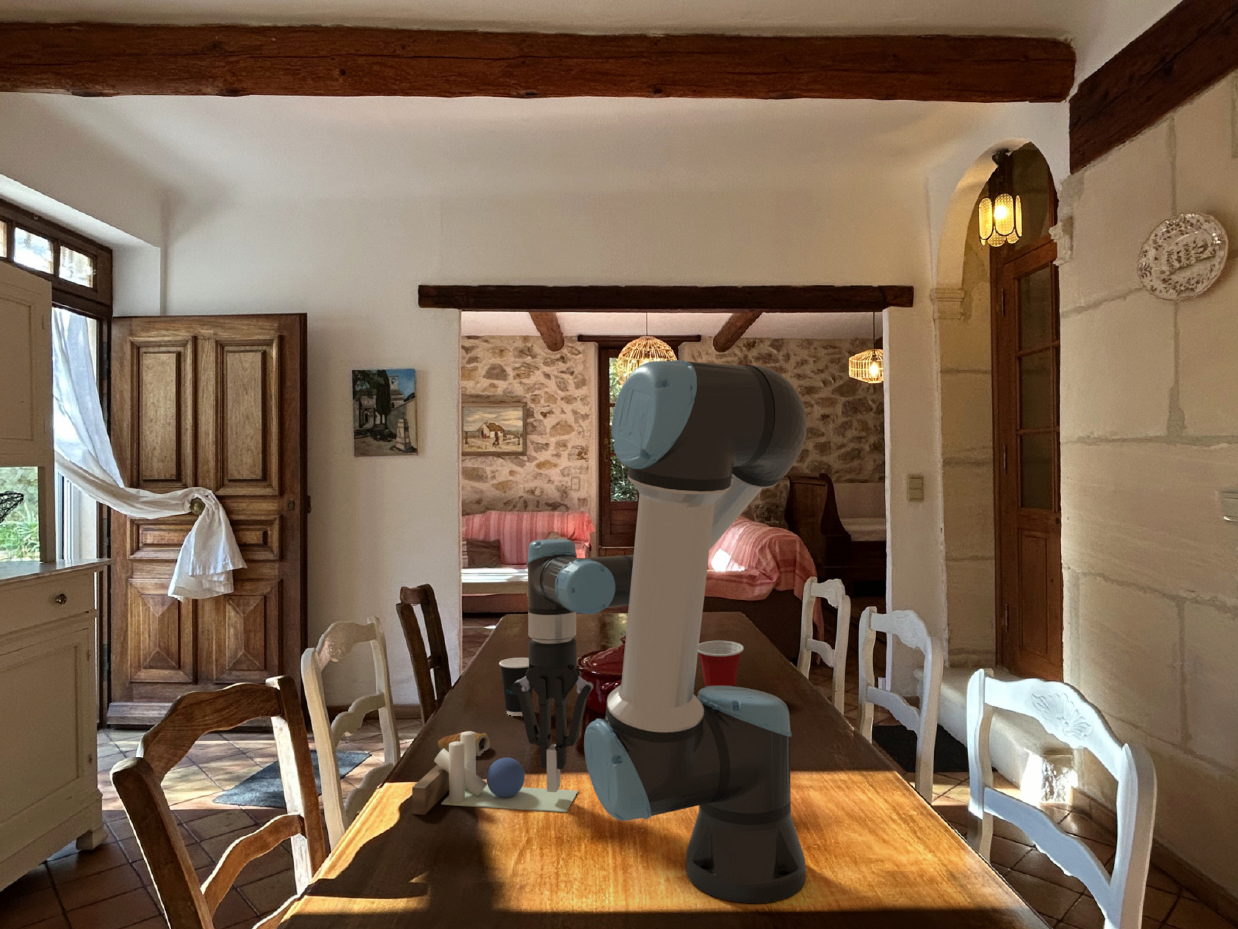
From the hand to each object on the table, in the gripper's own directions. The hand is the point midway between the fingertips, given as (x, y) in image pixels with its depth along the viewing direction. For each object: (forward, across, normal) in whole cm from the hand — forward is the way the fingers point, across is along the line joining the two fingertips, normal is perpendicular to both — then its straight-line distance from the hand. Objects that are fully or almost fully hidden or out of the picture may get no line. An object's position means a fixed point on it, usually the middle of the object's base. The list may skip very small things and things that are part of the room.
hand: (553, 788), depth 127 cm
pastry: (+2, +22, -20) cm, 29 cm away
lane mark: (+2, +7, 0) cm, 7 cm away
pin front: (+1, +12, 0) cm, 12 cm away
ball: (-1, +8, 0) cm, 8 cm away
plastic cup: (+2, -23, -60) cm, 65 cm away
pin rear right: (+2, +15, +2) cm, 15 cm away
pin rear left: (+2, +15, -2) cm, 15 cm away
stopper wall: (+2, +19, 0) cm, 19 cm away
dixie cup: (+2, +19, -44) cm, 48 cm away
